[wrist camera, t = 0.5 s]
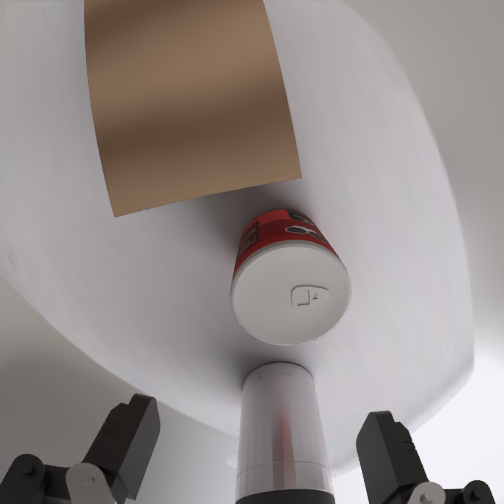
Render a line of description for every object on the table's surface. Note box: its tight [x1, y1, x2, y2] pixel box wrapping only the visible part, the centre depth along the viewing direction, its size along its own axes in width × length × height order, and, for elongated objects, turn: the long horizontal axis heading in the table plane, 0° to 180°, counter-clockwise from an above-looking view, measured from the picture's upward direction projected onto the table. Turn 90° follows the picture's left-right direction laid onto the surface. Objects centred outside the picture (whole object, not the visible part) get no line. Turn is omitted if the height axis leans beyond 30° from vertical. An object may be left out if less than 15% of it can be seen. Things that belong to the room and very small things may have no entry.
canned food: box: [230, 210, 351, 346], centre depth 24 cm, size 8×8×11 cm
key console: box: [84, 0, 302, 217], centre depth 16 cm, size 18×8×16 cm, turn 11°
